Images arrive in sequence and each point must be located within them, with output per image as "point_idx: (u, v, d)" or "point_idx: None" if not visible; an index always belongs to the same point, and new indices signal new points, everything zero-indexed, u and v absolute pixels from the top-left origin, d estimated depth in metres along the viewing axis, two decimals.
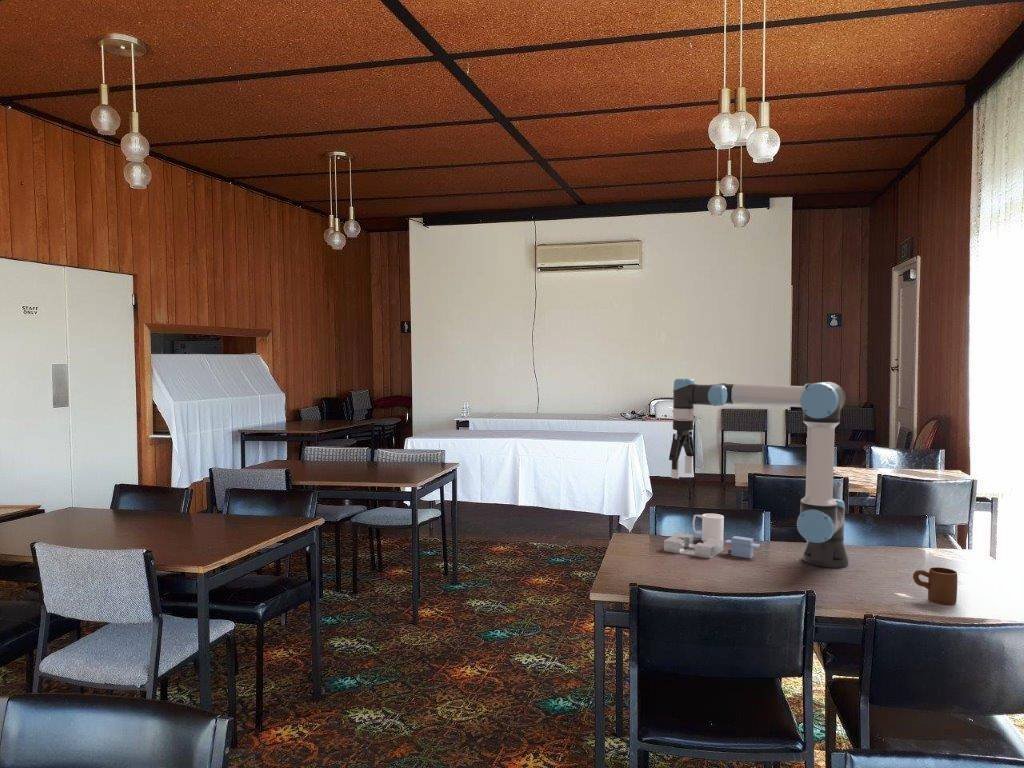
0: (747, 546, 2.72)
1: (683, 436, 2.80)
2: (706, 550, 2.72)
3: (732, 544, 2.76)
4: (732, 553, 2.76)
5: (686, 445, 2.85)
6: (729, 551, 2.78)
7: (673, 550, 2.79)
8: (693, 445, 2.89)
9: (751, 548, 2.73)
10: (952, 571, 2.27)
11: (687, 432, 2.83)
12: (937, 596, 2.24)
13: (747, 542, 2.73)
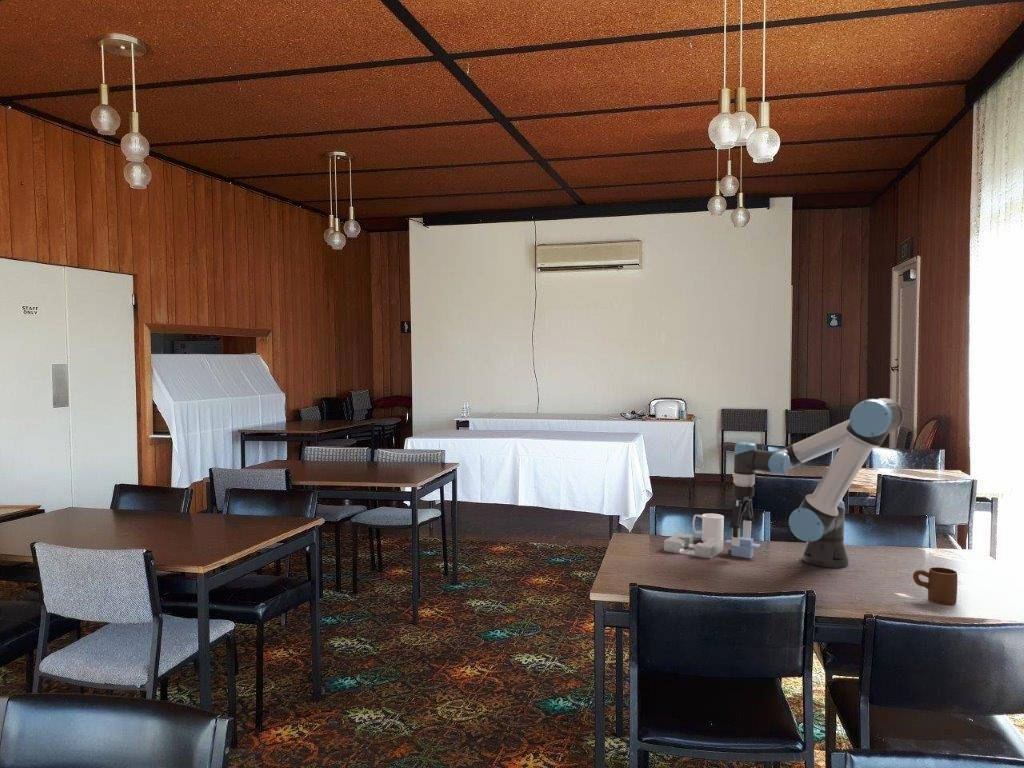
0: (747, 546, 2.72)
1: (744, 502, 2.73)
2: (706, 550, 2.72)
3: None
4: (732, 553, 2.76)
5: (745, 510, 2.78)
6: (729, 551, 2.78)
7: (673, 550, 2.79)
8: (752, 509, 2.81)
9: (751, 548, 2.73)
10: (952, 571, 2.27)
11: (747, 497, 2.76)
12: (937, 596, 2.24)
13: (747, 542, 2.73)
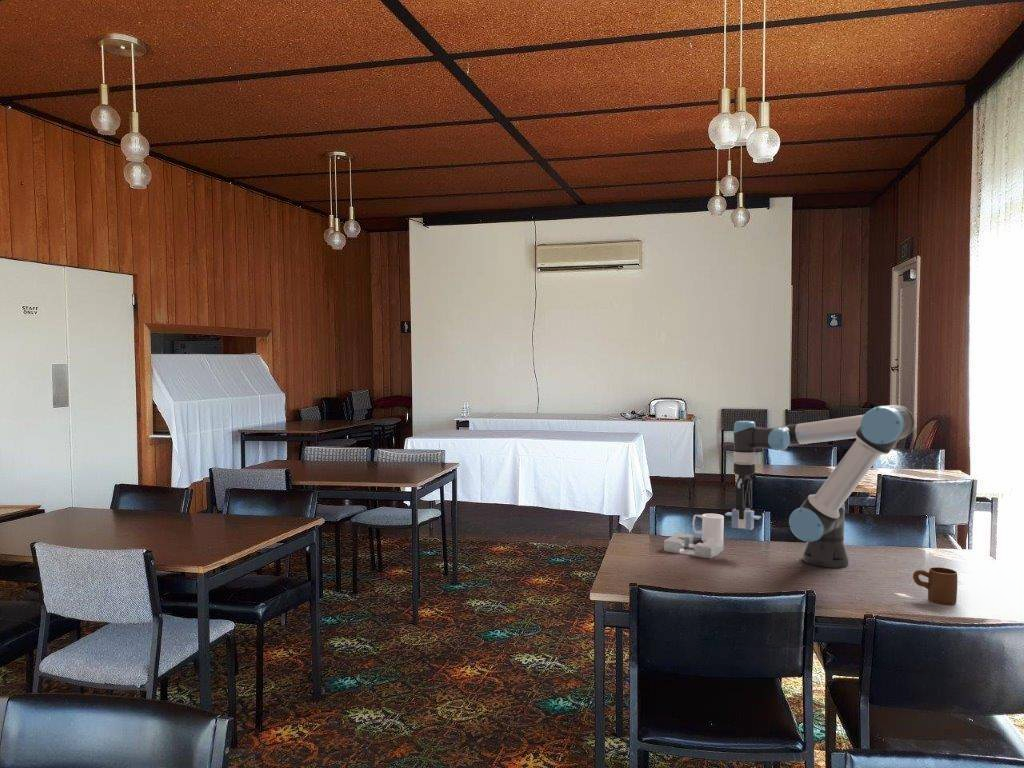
0: (747, 518, 2.72)
1: (745, 481, 2.72)
2: (706, 550, 2.72)
3: (732, 516, 2.75)
4: (732, 525, 2.75)
5: (745, 492, 2.76)
6: (729, 523, 2.77)
7: (673, 550, 2.79)
8: (751, 495, 2.78)
9: (751, 520, 2.73)
10: (952, 571, 2.27)
11: (749, 474, 2.76)
12: (937, 596, 2.24)
13: (747, 514, 2.72)
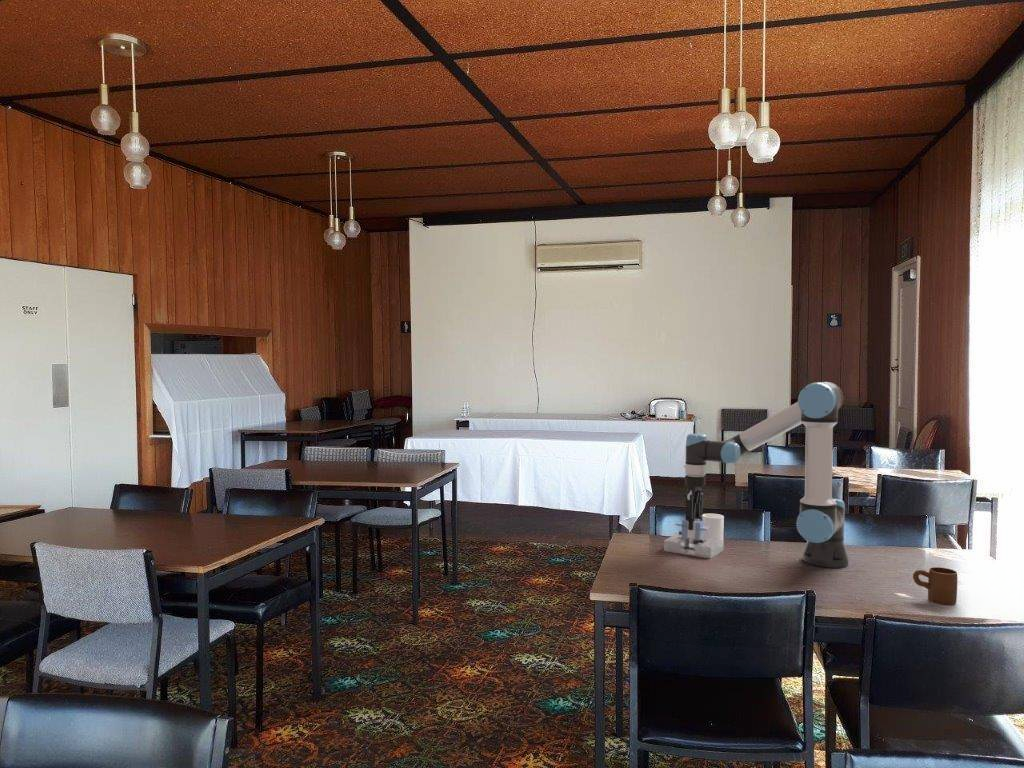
0: (697, 529, 2.79)
1: (695, 493, 2.78)
2: (706, 550, 2.72)
3: (682, 527, 2.82)
4: (682, 535, 2.82)
5: (696, 503, 2.82)
6: (680, 533, 2.84)
7: (673, 550, 2.79)
8: (702, 506, 2.85)
9: (700, 530, 2.79)
10: (952, 571, 2.27)
11: (700, 486, 2.82)
12: (937, 596, 2.24)
13: (696, 524, 2.79)
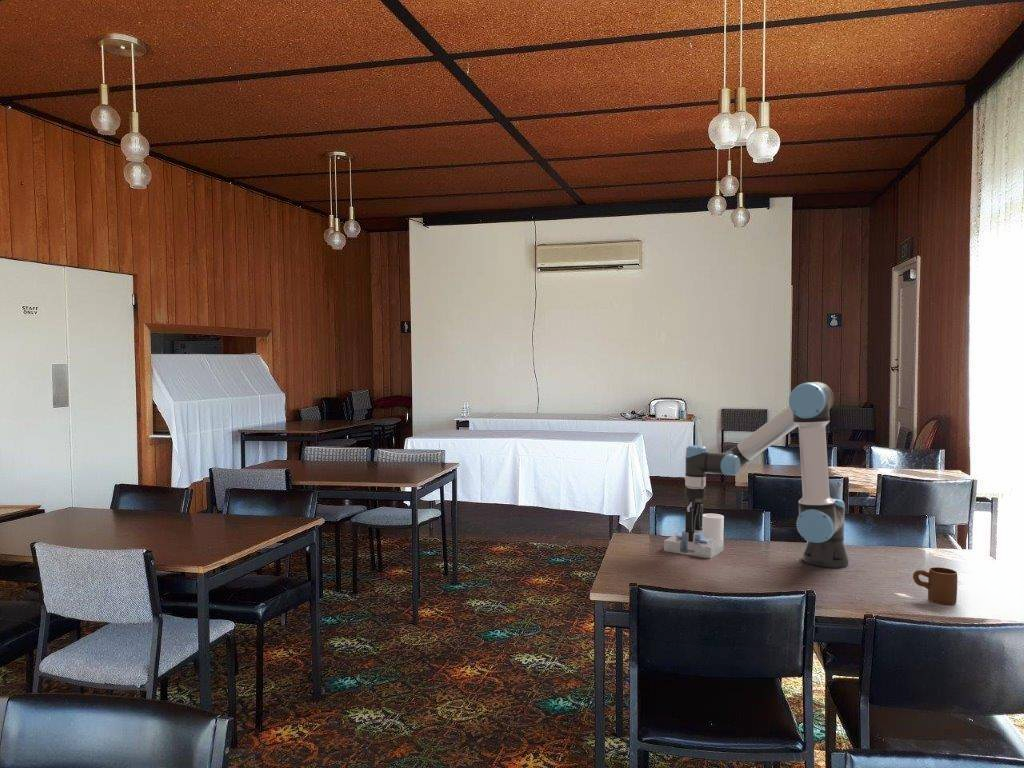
0: (697, 540, 2.79)
1: (695, 505, 2.79)
2: (706, 550, 2.72)
3: (682, 538, 2.82)
4: None
5: (696, 514, 2.82)
6: None
7: (673, 550, 2.79)
8: (702, 517, 2.85)
9: (700, 542, 2.79)
10: (952, 571, 2.27)
11: None
12: (937, 596, 2.24)
13: (696, 536, 2.79)
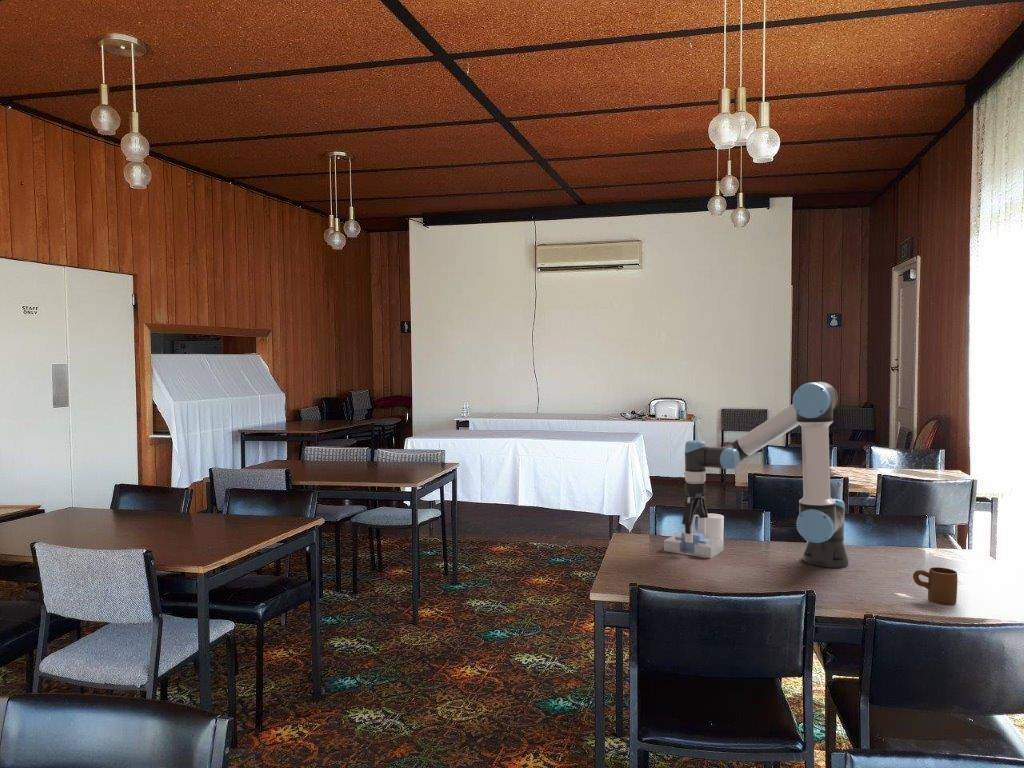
0: (696, 541, 2.79)
1: (696, 499, 2.78)
2: (706, 550, 2.72)
3: (682, 539, 2.82)
4: None
5: (699, 507, 2.84)
6: None
7: (673, 550, 2.79)
8: None
9: None
10: (952, 571, 2.27)
11: (699, 494, 2.82)
12: (937, 596, 2.24)
13: (696, 537, 2.79)
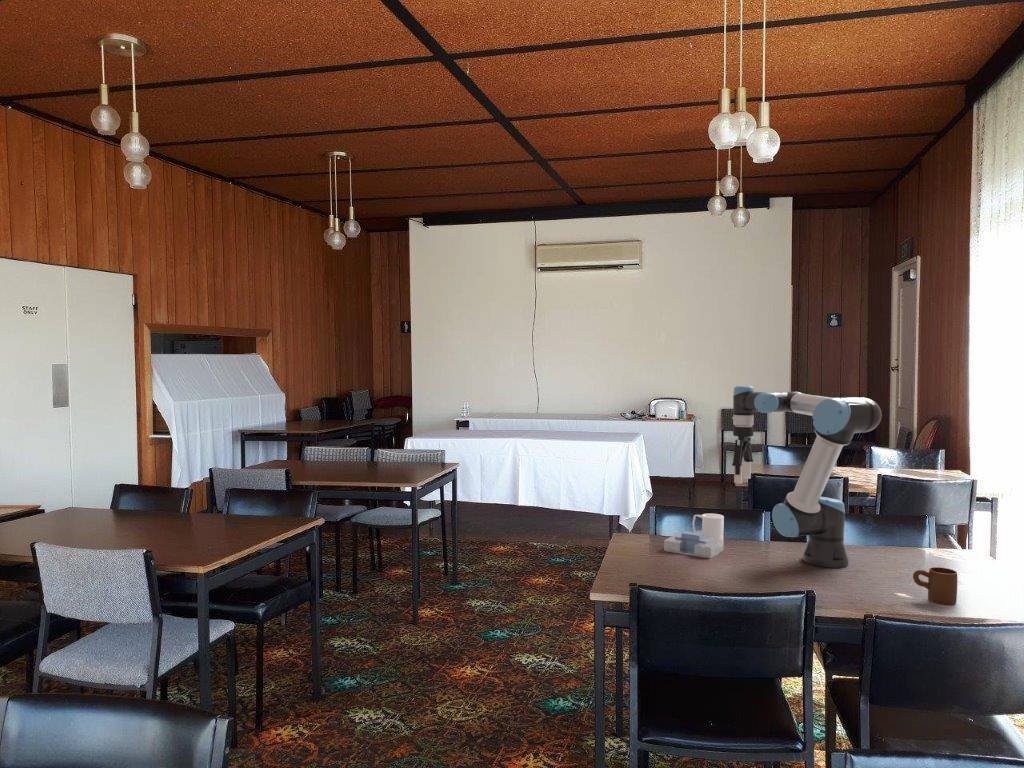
0: (696, 541, 2.79)
1: (744, 442, 2.87)
2: (706, 550, 2.72)
3: (682, 539, 2.82)
4: None
5: (745, 451, 2.92)
6: None
7: (673, 550, 2.79)
8: (751, 451, 2.96)
9: None
10: (952, 571, 2.27)
11: (747, 438, 2.90)
12: (937, 596, 2.24)
13: (696, 537, 2.79)
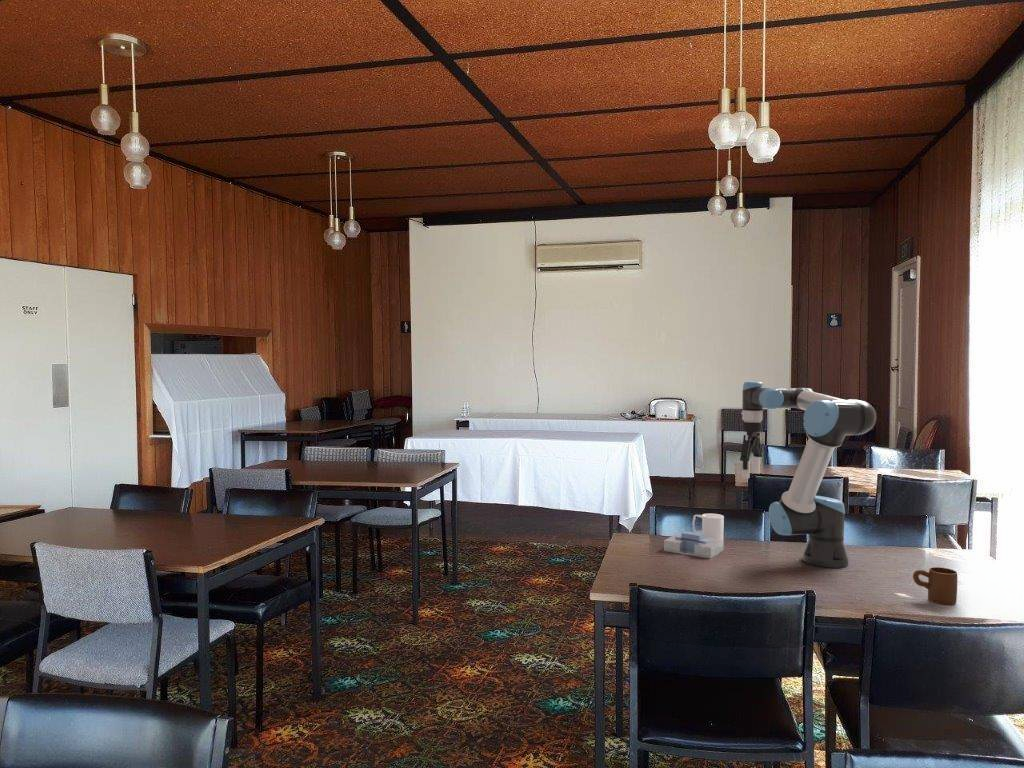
0: (696, 541, 2.79)
1: (753, 437, 2.89)
2: (706, 550, 2.72)
3: (682, 539, 2.82)
4: None
5: (754, 446, 2.94)
6: None
7: (673, 550, 2.79)
8: (760, 446, 2.98)
9: None
10: (952, 571, 2.27)
11: (756, 433, 2.92)
12: (937, 596, 2.24)
13: (696, 537, 2.79)
